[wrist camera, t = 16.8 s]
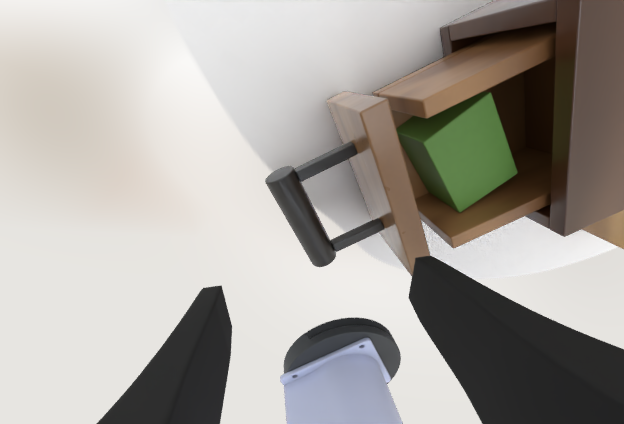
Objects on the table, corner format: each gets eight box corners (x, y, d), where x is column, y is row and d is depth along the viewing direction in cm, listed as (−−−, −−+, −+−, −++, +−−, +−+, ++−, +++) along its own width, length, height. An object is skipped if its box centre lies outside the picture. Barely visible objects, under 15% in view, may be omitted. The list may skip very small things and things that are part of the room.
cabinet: (463, 183, 20) (563, 237, 13) (439, 28, 15) (580, -11, 8) (623, 108, 20) (811, 126, 13) (653, -80, 14) (989, -214, 8)
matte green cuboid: (393, 130, 15) (422, 143, 12) (447, 88, 15) (491, 91, 12) (427, 191, 18) (459, 213, 15) (476, 157, 17) (518, 173, 14)
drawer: (314, 254, 20) (333, 317, 15) (249, 138, 15) (244, 169, 10) (522, 157, 19) (619, 187, 14) (518, 3, 14) (659, -36, 9)
